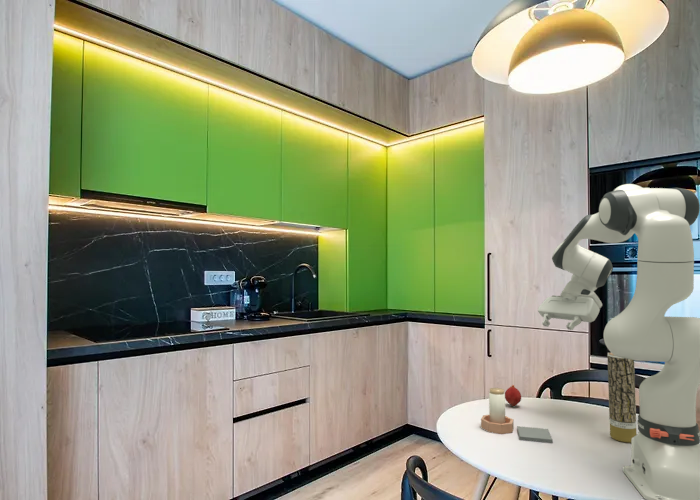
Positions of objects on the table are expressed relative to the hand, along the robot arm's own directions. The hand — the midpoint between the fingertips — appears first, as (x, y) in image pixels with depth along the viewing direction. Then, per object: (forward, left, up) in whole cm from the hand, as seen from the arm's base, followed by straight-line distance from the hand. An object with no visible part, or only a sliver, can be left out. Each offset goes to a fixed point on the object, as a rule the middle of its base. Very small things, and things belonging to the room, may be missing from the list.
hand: (556, 326), depth 147 cm
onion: (+11, +16, -32) cm, 37 cm away
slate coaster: (-17, +7, -31) cm, 37 cm away
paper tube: (-8, -17, -32) cm, 37 cm away
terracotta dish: (-15, +18, -31) cm, 39 cm away
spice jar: (-16, +18, -30) cm, 38 cm away
